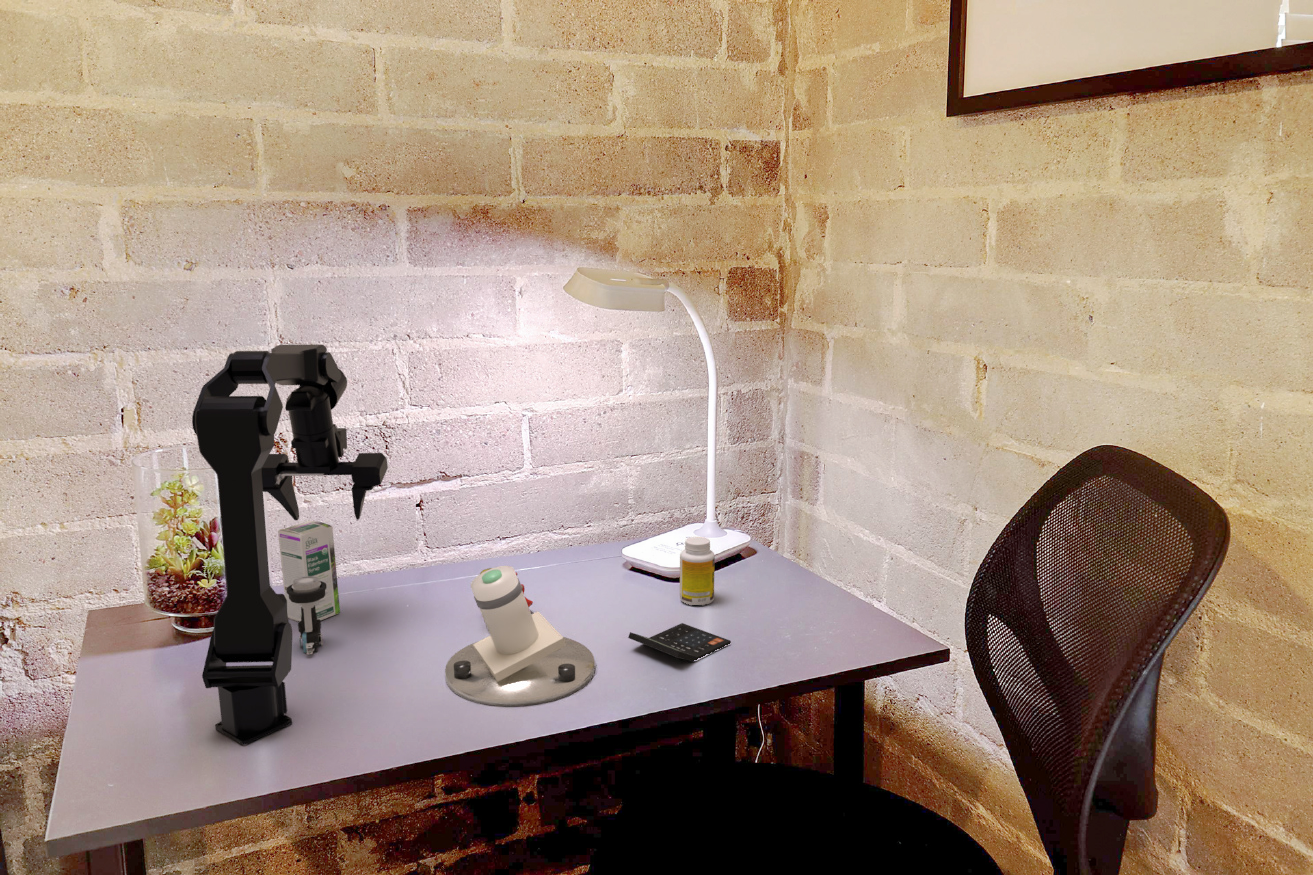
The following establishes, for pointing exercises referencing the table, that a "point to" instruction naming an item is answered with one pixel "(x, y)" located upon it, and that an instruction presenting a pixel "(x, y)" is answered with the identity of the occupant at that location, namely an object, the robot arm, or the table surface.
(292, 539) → the syrup box
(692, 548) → the supplement bottle
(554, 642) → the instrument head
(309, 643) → the push button
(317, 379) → the robot arm
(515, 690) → the silver round metal plate
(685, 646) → the calculator
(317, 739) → the table surface
